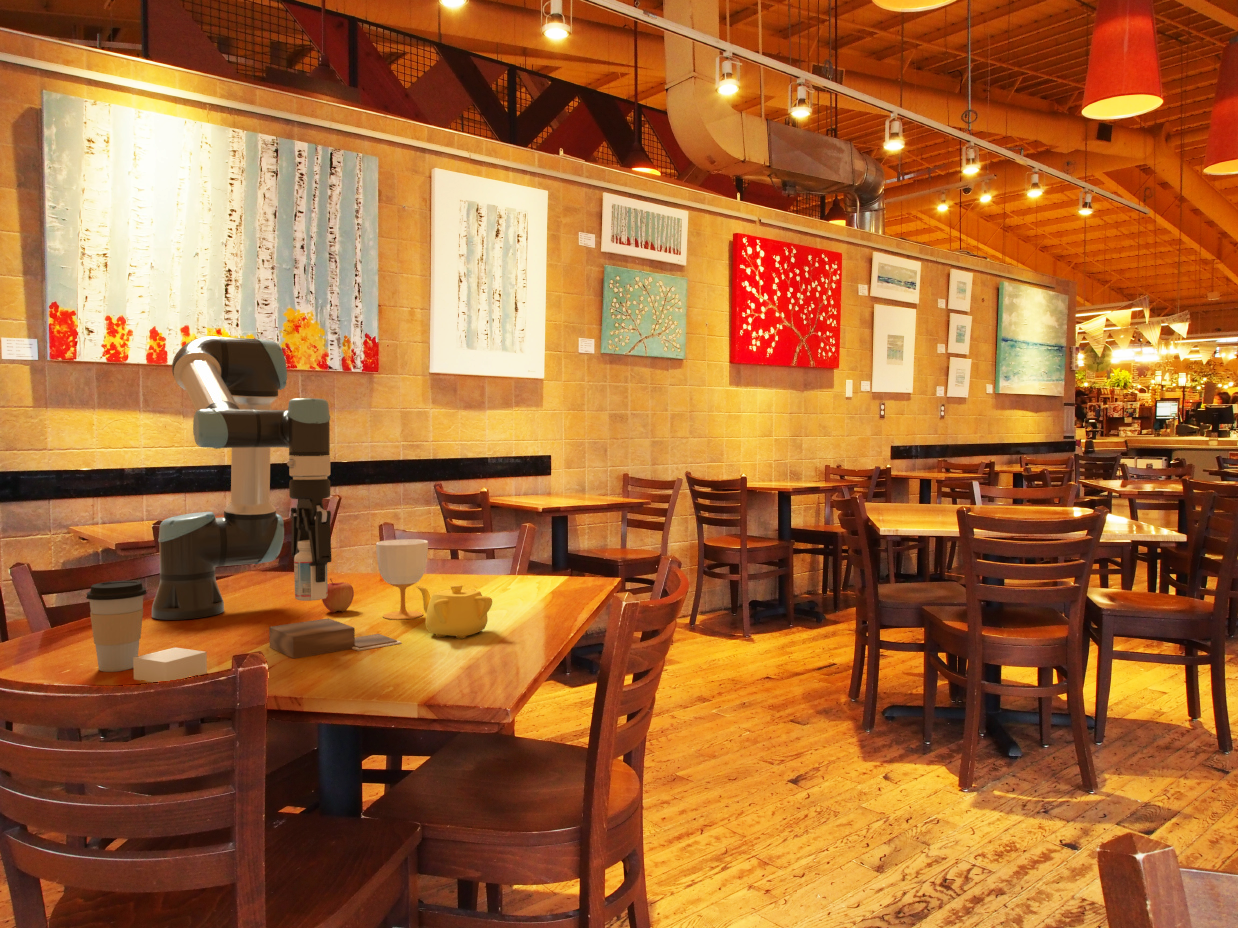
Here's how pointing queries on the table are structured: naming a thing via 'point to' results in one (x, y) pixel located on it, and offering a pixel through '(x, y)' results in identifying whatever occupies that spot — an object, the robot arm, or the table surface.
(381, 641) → the tile
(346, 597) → the apple
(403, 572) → the cup
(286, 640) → the walnut block
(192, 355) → the robot arm
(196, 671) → the beige block
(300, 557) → the pill bottle
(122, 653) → the coffee cup
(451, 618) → the teapot
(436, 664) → the table surface
